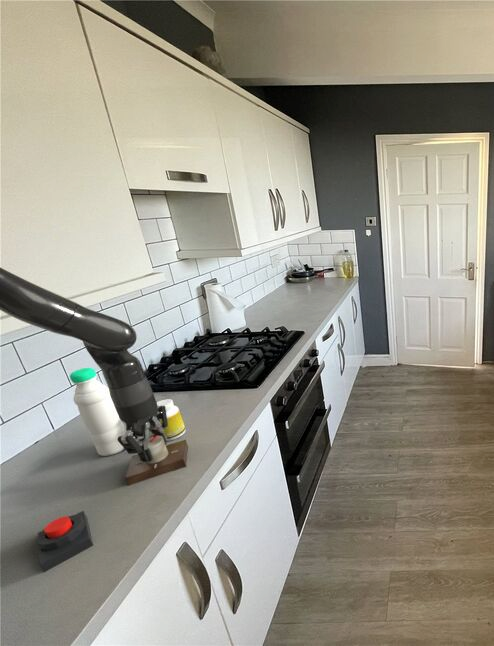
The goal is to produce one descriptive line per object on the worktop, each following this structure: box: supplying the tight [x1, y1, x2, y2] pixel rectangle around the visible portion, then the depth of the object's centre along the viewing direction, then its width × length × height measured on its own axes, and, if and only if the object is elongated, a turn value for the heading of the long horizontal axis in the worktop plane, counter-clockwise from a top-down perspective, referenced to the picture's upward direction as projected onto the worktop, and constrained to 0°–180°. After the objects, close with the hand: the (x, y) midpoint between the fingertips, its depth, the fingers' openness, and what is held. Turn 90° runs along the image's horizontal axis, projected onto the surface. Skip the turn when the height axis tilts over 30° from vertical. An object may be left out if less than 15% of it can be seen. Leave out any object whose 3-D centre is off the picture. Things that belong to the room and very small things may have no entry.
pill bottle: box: [156, 398, 187, 442], centre depth 102 cm, size 6×6×11 cm
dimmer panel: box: [124, 439, 189, 486], centre depth 92 cm, size 12×9×3 cm
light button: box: [43, 516, 73, 539], centre depth 70 cm, size 4×4×2 cm
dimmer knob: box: [140, 435, 168, 464], centre depth 90 cm, size 5×5×5 cm
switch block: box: [36, 510, 94, 573], centre depth 71 cm, size 10×7×4 cm
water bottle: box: [69, 367, 127, 457], centre depth 94 cm, size 7×7×25 cm
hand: (155, 452), depth 91 cm, fingers closed on dimmer knob, 5 cm apart
